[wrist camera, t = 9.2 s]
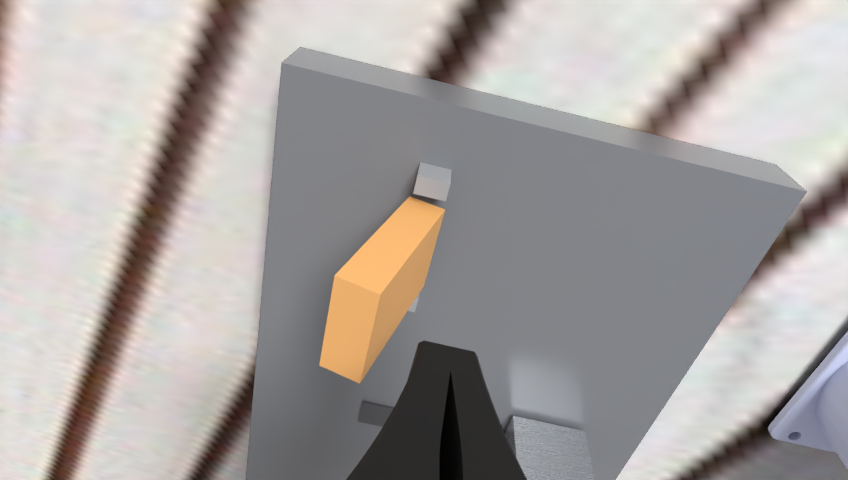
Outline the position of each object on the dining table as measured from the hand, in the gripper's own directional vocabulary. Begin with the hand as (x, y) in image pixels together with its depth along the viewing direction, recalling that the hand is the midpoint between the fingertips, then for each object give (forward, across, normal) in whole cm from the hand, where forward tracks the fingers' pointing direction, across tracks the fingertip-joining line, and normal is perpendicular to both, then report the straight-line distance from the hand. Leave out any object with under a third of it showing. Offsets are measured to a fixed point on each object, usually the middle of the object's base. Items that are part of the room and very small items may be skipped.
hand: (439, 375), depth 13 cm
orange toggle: (+6, +1, 0) cm, 6 cm away
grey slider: (+6, -6, +9) cm, 12 cm away
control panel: (+8, -2, +9) cm, 12 cm away
